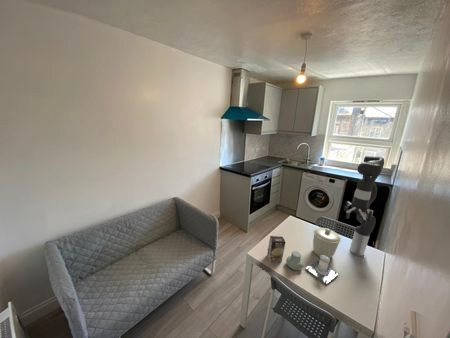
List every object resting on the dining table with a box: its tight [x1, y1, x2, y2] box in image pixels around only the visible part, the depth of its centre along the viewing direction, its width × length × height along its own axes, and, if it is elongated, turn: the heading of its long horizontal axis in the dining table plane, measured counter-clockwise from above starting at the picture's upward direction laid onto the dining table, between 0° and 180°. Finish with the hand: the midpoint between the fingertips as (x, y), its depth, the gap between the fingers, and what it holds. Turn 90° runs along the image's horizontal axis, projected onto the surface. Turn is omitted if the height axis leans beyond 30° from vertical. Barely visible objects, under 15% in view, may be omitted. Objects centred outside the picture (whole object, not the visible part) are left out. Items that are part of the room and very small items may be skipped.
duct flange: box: [305, 260, 339, 286], centre depth 124 cm, size 14×14×2 cm
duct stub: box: [318, 255, 331, 273], centre depth 123 cm, size 6×6×9 cm
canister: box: [312, 227, 342, 260], centre depth 140 cm, size 18×18×21 cm
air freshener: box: [285, 250, 304, 271], centre depth 127 cm, size 11×8×10 cm
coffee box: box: [266, 235, 286, 263], centre depth 132 cm, size 9×6×16 cm
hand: (354, 221), depth 115 cm, fingers open, 8 cm apart
